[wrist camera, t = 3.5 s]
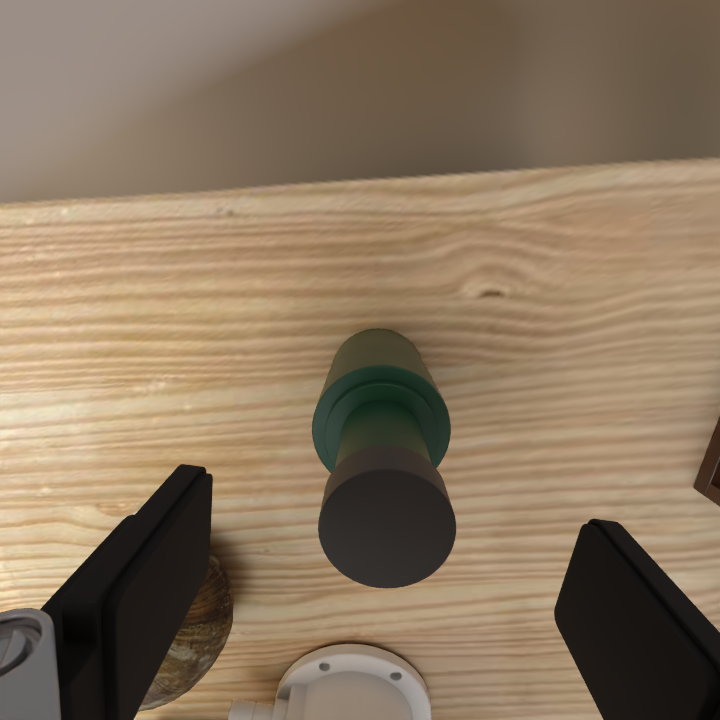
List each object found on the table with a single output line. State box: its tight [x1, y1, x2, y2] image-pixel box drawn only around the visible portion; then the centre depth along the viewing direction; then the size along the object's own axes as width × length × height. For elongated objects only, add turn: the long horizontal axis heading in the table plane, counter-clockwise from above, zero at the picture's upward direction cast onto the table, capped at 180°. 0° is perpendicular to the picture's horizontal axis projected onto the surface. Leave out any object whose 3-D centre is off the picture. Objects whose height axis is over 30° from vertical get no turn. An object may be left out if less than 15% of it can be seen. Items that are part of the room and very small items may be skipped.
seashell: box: [138, 553, 233, 711], centre depth 26 cm, size 11×9×8 cm
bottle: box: [312, 329, 456, 588], centre depth 18 cm, size 6×6×16 cm
